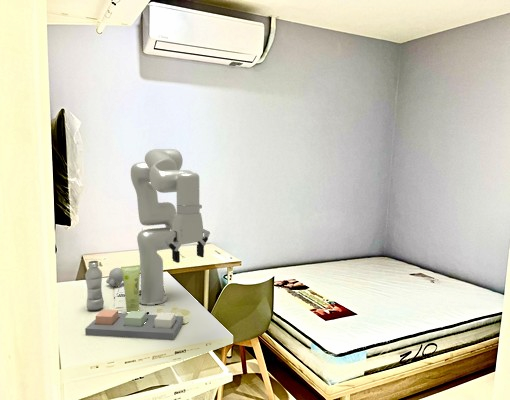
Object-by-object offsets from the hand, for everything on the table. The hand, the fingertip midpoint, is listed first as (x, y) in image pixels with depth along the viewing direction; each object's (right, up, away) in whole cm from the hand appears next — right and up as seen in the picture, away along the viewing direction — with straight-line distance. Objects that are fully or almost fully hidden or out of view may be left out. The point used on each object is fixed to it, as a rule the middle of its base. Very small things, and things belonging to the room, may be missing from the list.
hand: (188, 259), depth 140 cm
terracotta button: (-32, -25, +13) cm, 43 cm away
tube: (-27, -26, +27) cm, 46 cm away
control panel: (-21, -28, +13) cm, 37 cm away
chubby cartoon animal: (-42, -21, +57) cm, 74 cm away
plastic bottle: (-43, -25, +29) cm, 58 cm away
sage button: (-21, -26, +12) cm, 36 cm away
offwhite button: (-10, -26, +11) cm, 30 cm away
